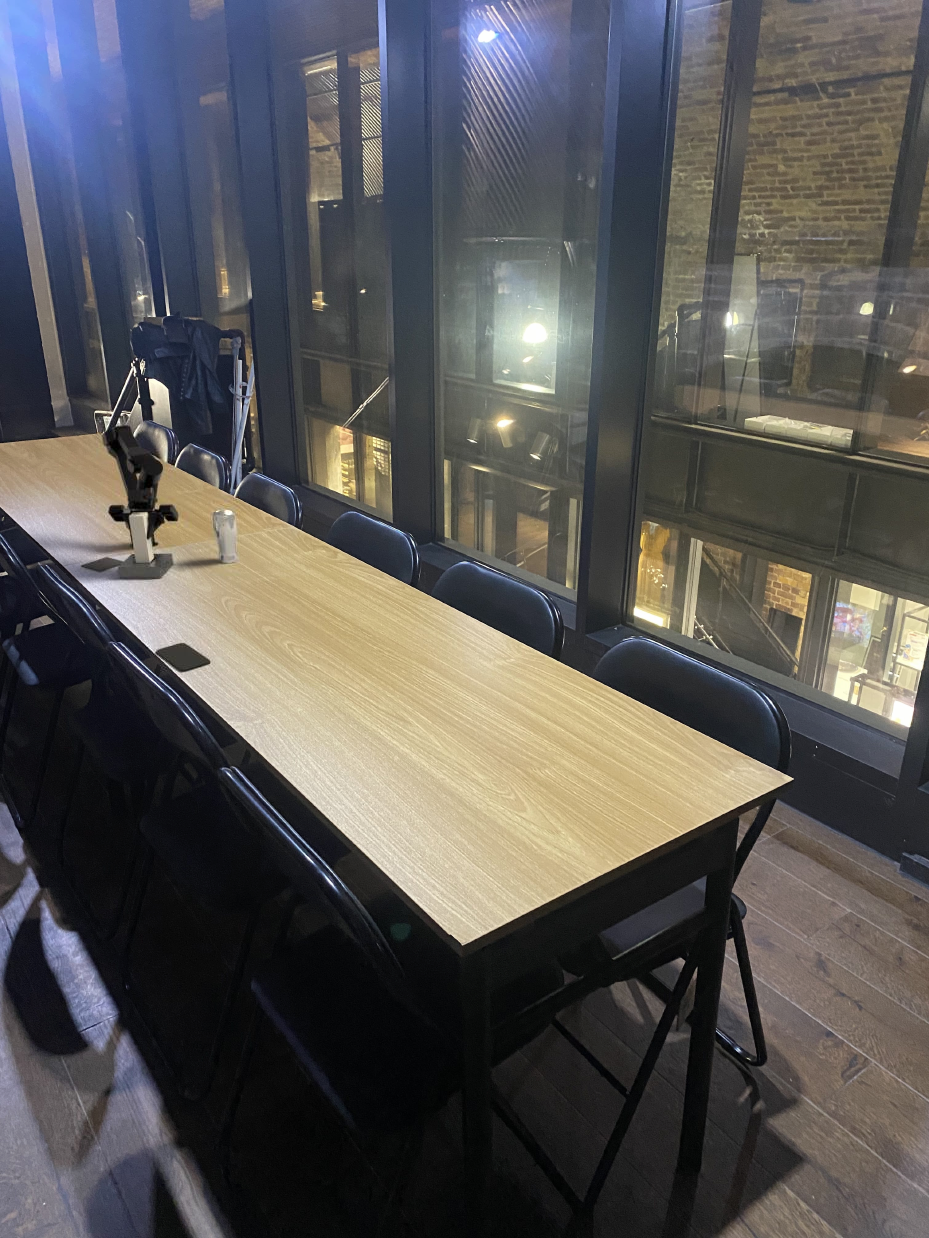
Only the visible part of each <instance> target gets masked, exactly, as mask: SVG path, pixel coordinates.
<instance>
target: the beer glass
mask: <svg viewBox="0 0 929 1238" xmlns="http://www.w3.org/2000/svg"><path fill="white" fill-rule="evenodd" d="M211 517H212V531H213V534H214V538H215V541H216V545H217V549H218V557H217V559H218V562H219V563H222V564H234V563H236V562H238V561H239V559H240V557H239V554H238V550H237V541H238V539H237V538H238V526H237V525H238V523H237V517H236V513H235V511H234V510H232V509H220V510H219V509H218V510H215V511H213V512H211Z"/></svg>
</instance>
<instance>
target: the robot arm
mask: <svg viewBox="0 0 929 1238" xmlns="http://www.w3.org/2000/svg"><path fill="white" fill-rule="evenodd" d="M101 439H102V444H103V446H104V447H105V448H106V451H107V453H108V454H109V455H110V456H111V457H113V458H114V459H115V460H116V461H115V462H116V465H117V468H118V470H119V473H120V477H121V481H122V483H123V486H124V489H125V492H126V497H127V502H128V503H127V506H126V507H125V505H124V504H111V505H110V506H109V507H108V511H107V513H108V514H109V516H110V517H111V519H112V521H114V522H117V523H124V525H125V527H126V529H127V530H128V531H129V533H130V534H129V536H130V543H131V544H129V547H130V548H131V547H132V548H134V547H133V540H132V533H131V527H130V520H129V516H130V515H131V514H132V513H133V512H147V513H148V520H149V525H148V530H147V539H148V540H149V539H150V537H151V541H152V547H154V546H157V545H159V542H157V541H156V539H155V532H156V531H157V530H158V529H159V527H161V525H164V524H166V522H178V521H179V515H180V514H179V512H178V510H177V509H176V507H175V506H174V505H173V503H172V504H169V503H168V504H167V503H166V504H160V505H159V506H158V508H156V504H157V503H158V501H159V500H158V498H157V496H158V488H159V482H161V478H162V474H163V471H164V465H163V463H162V462H161V461H159V459H157V458H156V457H155V456H154V455H152V453H151V452H150V451H149V450H148V449H146V448H142V447H141V445H140V443H139V442H138V440H137V438H136V437H135V435H134V434H133V431H132V427H131V426H130V425H128V424H124V425H116V426H113V427H112V428H111V429H109V430H107V431H104V432H103V434H102V435H101ZM138 474H139V475H138ZM137 475H138V476H137ZM165 520H166V521H165Z"/></svg>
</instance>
